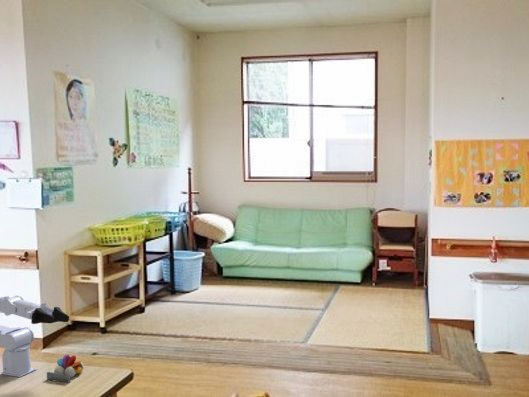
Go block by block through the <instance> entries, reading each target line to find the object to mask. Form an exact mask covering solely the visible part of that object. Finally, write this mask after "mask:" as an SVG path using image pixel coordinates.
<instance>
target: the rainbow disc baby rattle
mask: <svg viewBox="0 0 529 397" xmlns="http://www.w3.org/2000/svg"><path fill="white" fill-rule="evenodd" d="M76 360H77V356H76V355H74V354H73V355H71V356H70V355H69V354H65V355H64V356H63V357H61V358H58V359H57V366H55V368H54V370H53V373H59V374H65V375H70V379H72V378H74V377H75V376H76V374H80V373H82V372H83V370H84V363H83V362H82V361H81V360H78V361H76Z"/></svg>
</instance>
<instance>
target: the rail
mask: <svg viewBox="0 0 529 397" xmlns="http://www.w3.org/2000/svg"><path fill="white" fill-rule="evenodd" d="M47 379H49V380H48V381H53V380H55V381H54V382H60V383H66V384H70V383H71V378H70V375H65V374H59V373H54V371H53V372H52V371H51V372H50V371H47V372H46V380H47Z"/></svg>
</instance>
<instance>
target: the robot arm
mask: <svg viewBox="0 0 529 397" xmlns="http://www.w3.org/2000/svg"><path fill="white" fill-rule="evenodd" d="M0 314H4V315H5V316H11V315H14V316H18V317H21V318H25V319H28V320H31V322H30V323H31V324H32V325H36V324H54V323H58V322H62V323H69V319H70V315H68V314H67V313H66V312H63V310H62V309H61V307H59V306H54V307H53V309H52V308H50V307H48V306H47V303H46V302H41V304H37V303H34V302H32V301H28V300H24V298H23V297H22V296H19V295H15V296H12V297H9V295H5V296H0ZM34 339H35V335H34V332H33V330H32V329H31V328H30V327H27V326H25V327H9V326H5V325H2V324H0V347H3V348H4V351H3V352H2V356H1V359H2V360H1V361H2V372H1V373H0V374H1V375H5V376H10V377H11V376H12V377H19V378H20V377H21V378H22V377H23V376H25V375H28V374H30V373H33V372H34V371H36V370H37V368H36V367H32V364H31V350H30V348H31V346H32V343H33V342H34Z"/></svg>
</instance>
